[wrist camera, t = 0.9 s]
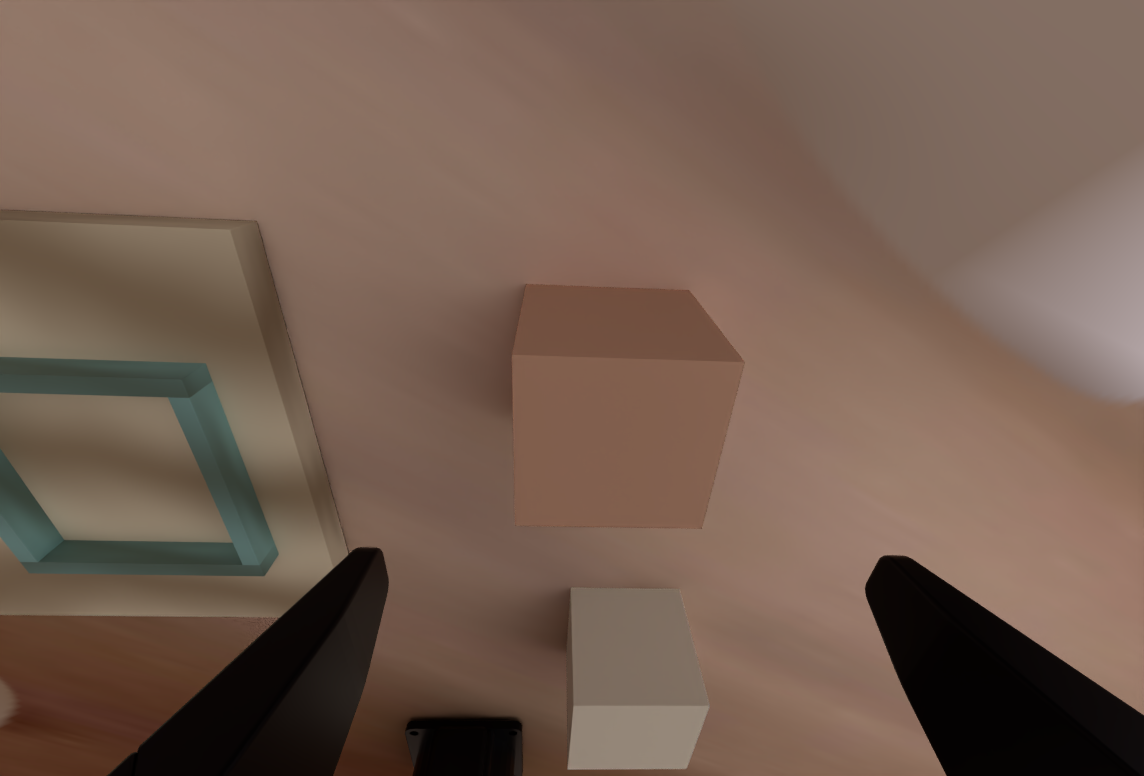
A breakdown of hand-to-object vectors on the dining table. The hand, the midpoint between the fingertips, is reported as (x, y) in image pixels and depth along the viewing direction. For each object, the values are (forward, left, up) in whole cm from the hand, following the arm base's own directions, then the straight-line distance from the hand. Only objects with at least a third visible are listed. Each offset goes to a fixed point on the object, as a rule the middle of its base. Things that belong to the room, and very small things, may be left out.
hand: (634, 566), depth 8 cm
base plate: (-4, +18, -8) cm, 20 cm away
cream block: (-14, -2, -8) cm, 16 cm away
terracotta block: (0, 0, -8) cm, 8 cm away
